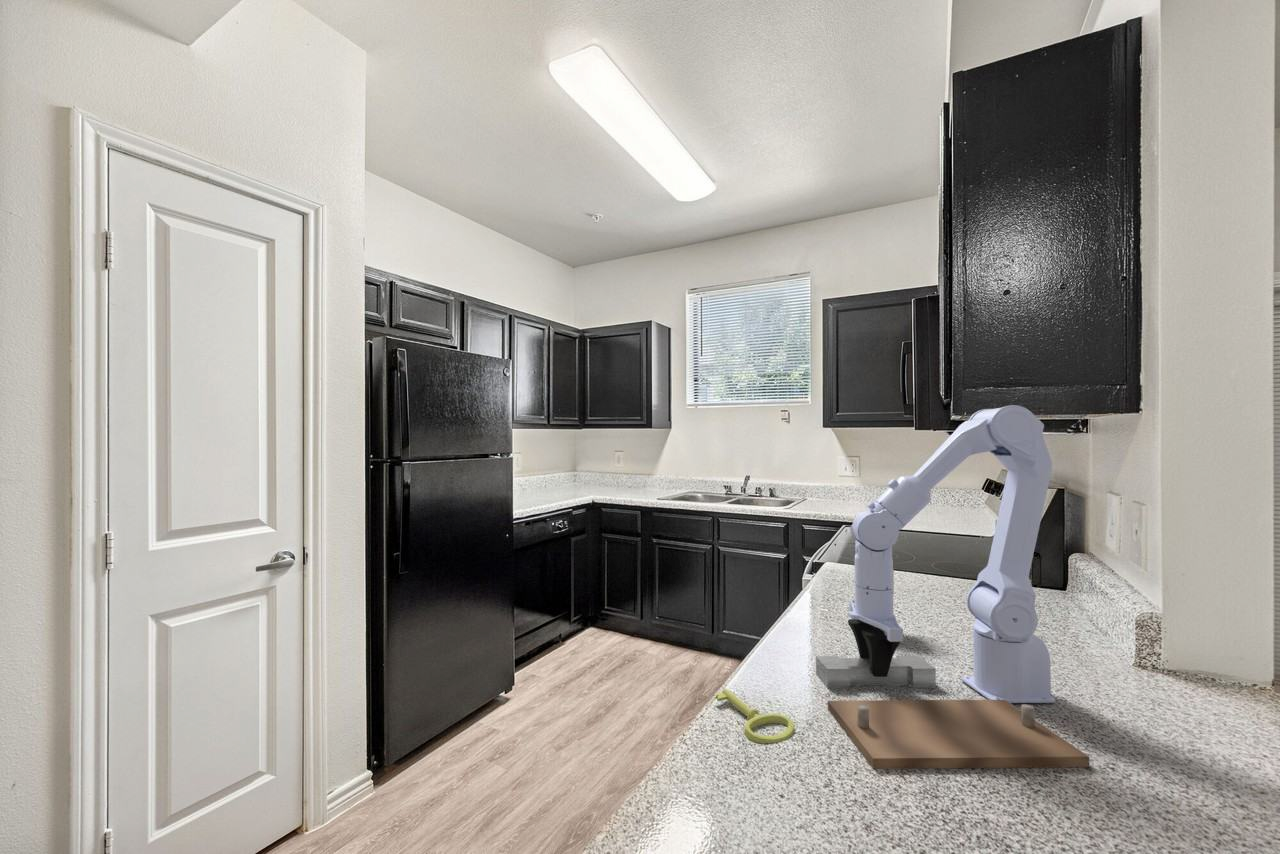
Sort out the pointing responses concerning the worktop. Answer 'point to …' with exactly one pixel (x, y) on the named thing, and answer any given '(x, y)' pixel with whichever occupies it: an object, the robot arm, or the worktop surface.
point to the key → (758, 720)
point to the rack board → (952, 734)
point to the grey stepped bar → (859, 673)
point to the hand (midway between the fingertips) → (874, 670)
